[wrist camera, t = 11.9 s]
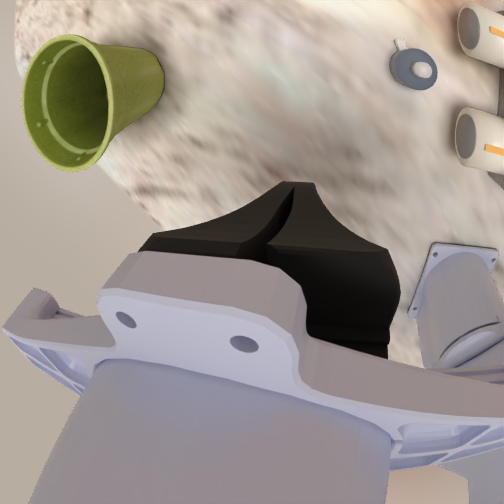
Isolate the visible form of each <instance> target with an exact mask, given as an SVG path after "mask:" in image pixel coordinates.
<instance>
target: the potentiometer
mask: <svg viewBox="0 0 504 504" xmlns="http://www.w3.org/2000/svg"><path fill="white" fill-rule="evenodd" d="M394 42H395V44H396V47H397V49H398V51H397V52H396V53H395V54H394V55H393V56H392V57H391V60H390V70H391V73H392V75H393V77H394V78H395V79H396V80H397V81H398V82H399V83H400V84H402V85H404V86H407V87H410V88H413V89H416V90H426V89H428V88H430V87H432V86H433V85H434V83H435V82H436V79H437V67H436V64H435V62H434V60H433V59H432V58H431V57H430V56H429V55H428V54H427V53H426V52H424V51H422V50H419V49H408V48H407V46H406V43H405V41H404V38H402V39H396V40H394Z"/></svg>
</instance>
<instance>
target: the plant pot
mask: <svg viewBox="0 0 504 504" xmlns="http://www.w3.org/2000/svg"><path fill="white" fill-rule="evenodd" d="M163 87H164V73H163V71H162V69H161V67H160V65H159V63H158V61H157V58H156V57H155V56H154V55H153V54H152V53H151V52H149V51H147V50H144V49H140V48H132V47H123V46H112V45H100V44H97V43H94V42H91V41H89V40H88V39H86V38H84V37H82V36H78V35H61V36H58V37H55V38H53V39H51V40H50V41H48V42H47V43H45V44H44V45H43V46H42V47H41V48H40V49H39V50H38V51H37V52H36V54H35V55H34V57H33V58H32V60H31V62H30V64H29V67H28V69H27V72H26V74H25V77H24V81H23V87H22V98H21V99H22V113H23V120H24V124H25V127H26V130H27V133H28V136H29V138H30V140H31V142H32V144H33V146H34V148H35V149H36V150H37V152H38V153H39V154H40V156H41V157H42V158H43V159H44V160H45V161H47V162H48V163H49V164H50V165H52V166H54V167H55V168H57V169H59V170H62V171H66V172H79V171H82V170H85V169H86V168H88V167H90V166H92V165H93V164H94V163H96V162H97V161H98V160H99V159H100V157H101V156H102V155H103V153H104V152H105V150H106V149H107V147H108V145H109V143H110V141H111V140H112V139H113V137H114V136H115V135H116V134H118V133H119V132H120V131H121V130H123V129H124V128H125V127H127V126H128V125H129V124H131V123H132V122H133V121H135V120H136V119H138V118H139V117H141V116H142V115H144V114H145V113H147V112H148V111H149V110H150V109H152V108H153V107H154V106H155V105H156V103H157V102H158V100H159V99H160V97H161V94H162V91H163Z"/></svg>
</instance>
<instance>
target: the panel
mask: <svg viewBox="0 0 504 504" xmlns="http://www.w3.org/2000/svg"><path fill="white" fill-rule="evenodd" d="M497 13H498V14H501V15H503V16H504V11H499V12H497ZM498 116H499V117H502V118H504V69H502V68H500V91H499V106H498ZM488 175H489V176H491V177H492V178H493V179H494V180H495V181H496V182H497V183H498V184H499V185H500V186H501V187H502V188H503V189H504V175H501V174H497V173H493V172H489V173H488Z"/></svg>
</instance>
